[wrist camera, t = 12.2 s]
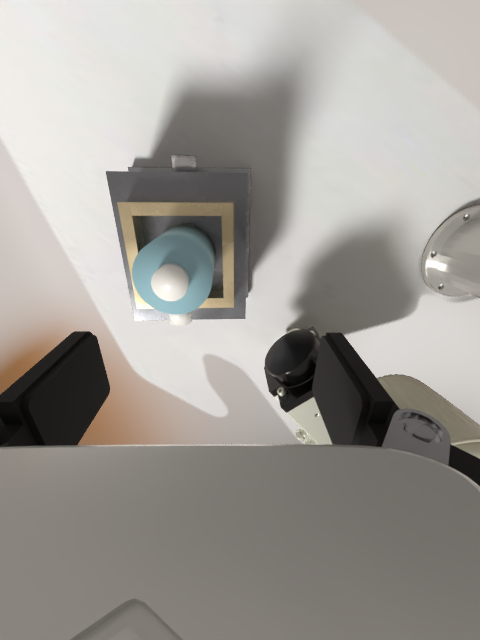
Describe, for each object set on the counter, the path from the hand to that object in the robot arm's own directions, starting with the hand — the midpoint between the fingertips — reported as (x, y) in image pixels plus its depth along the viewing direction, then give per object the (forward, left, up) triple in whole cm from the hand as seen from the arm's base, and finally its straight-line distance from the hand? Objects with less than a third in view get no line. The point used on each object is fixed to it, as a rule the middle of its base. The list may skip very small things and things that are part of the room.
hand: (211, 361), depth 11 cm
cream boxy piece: (-13, +17, -27) cm, 34 cm away
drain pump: (+3, -1, -17) cm, 17 cm away
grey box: (+3, -1, -27) cm, 27 cm away
